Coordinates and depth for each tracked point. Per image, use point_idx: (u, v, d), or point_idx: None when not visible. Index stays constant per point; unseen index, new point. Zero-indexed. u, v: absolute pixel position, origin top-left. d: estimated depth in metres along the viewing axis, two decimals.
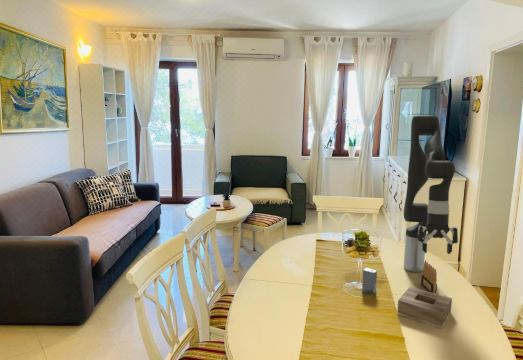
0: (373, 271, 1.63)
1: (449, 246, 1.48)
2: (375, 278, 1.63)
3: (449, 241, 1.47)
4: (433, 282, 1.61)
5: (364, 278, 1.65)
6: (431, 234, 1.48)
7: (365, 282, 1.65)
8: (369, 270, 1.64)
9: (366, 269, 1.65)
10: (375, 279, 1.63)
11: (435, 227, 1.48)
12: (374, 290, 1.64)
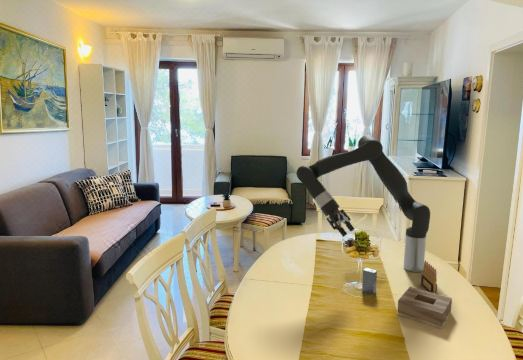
0: (373, 271, 1.63)
1: None
2: (375, 278, 1.63)
3: None
4: (433, 282, 1.61)
5: (364, 278, 1.65)
6: None
7: (365, 282, 1.65)
8: (369, 270, 1.64)
9: (366, 269, 1.65)
10: (375, 279, 1.63)
11: None
12: (374, 290, 1.64)
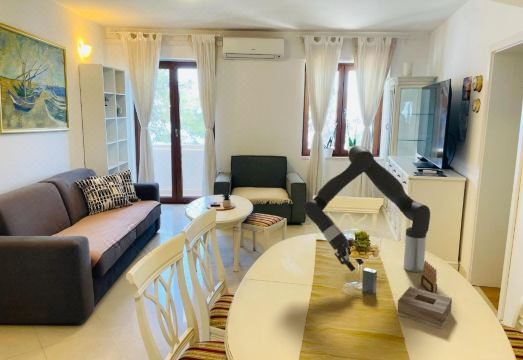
0: (373, 271, 1.63)
1: None
2: (375, 278, 1.63)
3: None
4: (433, 282, 1.61)
5: (364, 278, 1.65)
6: None
7: (365, 282, 1.65)
8: (369, 270, 1.64)
9: (366, 269, 1.65)
10: (375, 279, 1.63)
11: None
12: (374, 290, 1.64)
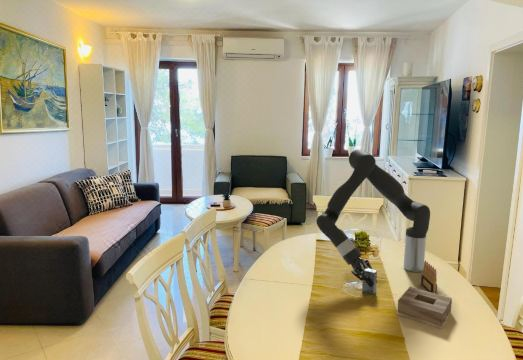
0: (373, 271, 1.63)
1: None
2: (375, 278, 1.63)
3: None
4: (433, 282, 1.61)
5: None
6: None
7: (365, 282, 1.65)
8: (369, 270, 1.64)
9: (366, 269, 1.65)
10: (375, 279, 1.63)
11: None
12: (374, 290, 1.64)
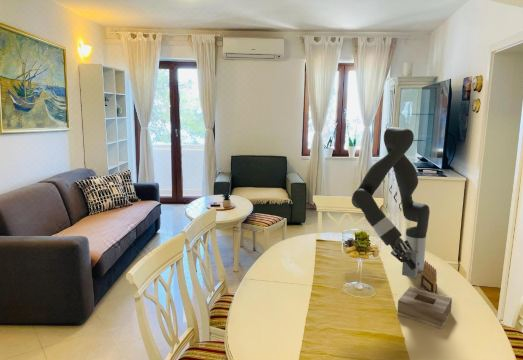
0: (415, 252, 1.47)
1: None
2: (417, 260, 1.47)
3: None
4: (433, 282, 1.61)
5: None
6: None
7: (405, 264, 1.49)
8: (411, 251, 1.48)
9: (407, 250, 1.49)
10: (417, 261, 1.48)
11: None
12: (416, 273, 1.48)
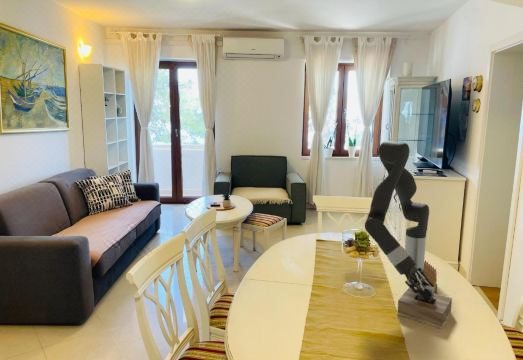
0: (430, 288, 1.45)
1: None
2: (432, 296, 1.45)
3: None
4: (433, 282, 1.61)
5: (419, 296, 1.47)
6: None
7: (420, 300, 1.47)
8: (426, 287, 1.46)
9: None
10: (432, 297, 1.46)
11: None
12: None
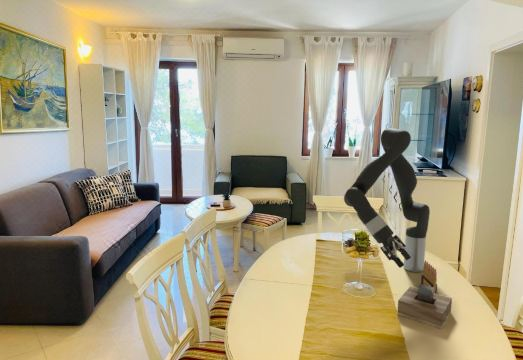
0: (430, 288, 1.45)
1: None
2: (432, 296, 1.45)
3: None
4: (433, 282, 1.61)
5: (419, 296, 1.47)
6: None
7: (420, 300, 1.47)
8: (426, 287, 1.46)
9: (421, 286, 1.47)
10: (432, 297, 1.45)
11: None
12: None
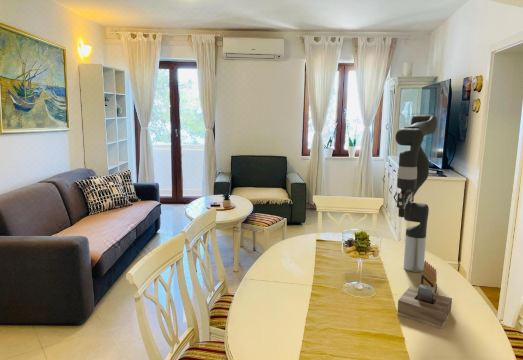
0: (430, 288, 1.45)
1: None
2: (432, 296, 1.45)
3: None
4: (433, 282, 1.61)
5: (419, 296, 1.47)
6: None
7: (420, 300, 1.47)
8: (426, 287, 1.46)
9: (421, 286, 1.47)
10: (432, 297, 1.45)
11: None
12: None
